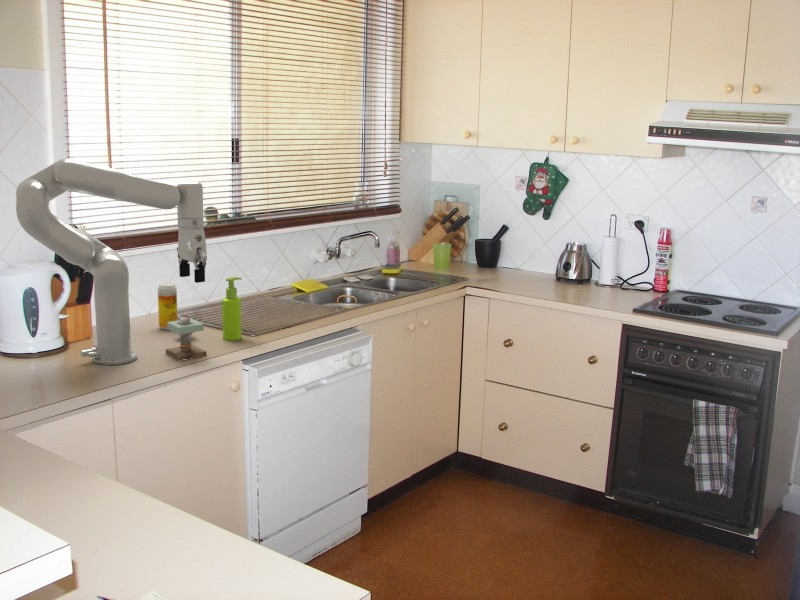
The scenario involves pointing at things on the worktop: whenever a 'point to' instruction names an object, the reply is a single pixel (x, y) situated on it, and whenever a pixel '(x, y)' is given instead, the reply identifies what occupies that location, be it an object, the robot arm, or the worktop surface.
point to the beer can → (167, 304)
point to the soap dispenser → (231, 312)
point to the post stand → (186, 346)
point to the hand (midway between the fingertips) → (192, 279)
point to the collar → (185, 327)
